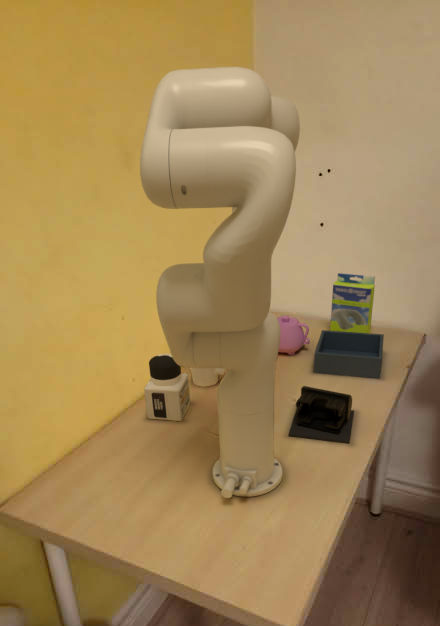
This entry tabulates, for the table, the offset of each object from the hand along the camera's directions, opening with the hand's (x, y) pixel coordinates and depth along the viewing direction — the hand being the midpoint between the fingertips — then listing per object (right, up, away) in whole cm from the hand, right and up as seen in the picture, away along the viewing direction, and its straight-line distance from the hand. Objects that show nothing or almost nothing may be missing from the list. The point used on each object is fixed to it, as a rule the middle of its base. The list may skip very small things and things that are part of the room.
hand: (251, 272), depth 111 cm
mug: (-8, -22, +19) cm, 31 cm away
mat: (+15, -31, +1) cm, 34 cm away
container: (-17, -29, +8) cm, 35 cm away
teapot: (+10, -13, +34) cm, 38 cm away
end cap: (+15, -31, +1) cm, 34 cm away
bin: (+26, -17, +25) cm, 40 cm away
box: (+30, -10, +39) cm, 50 cm away
